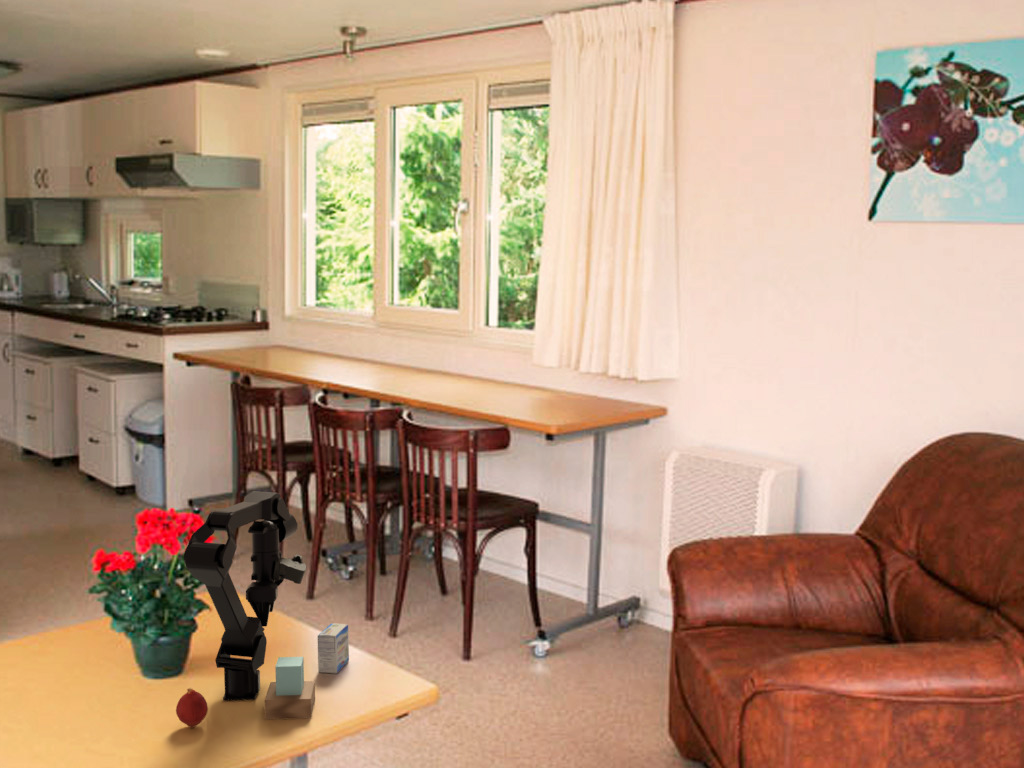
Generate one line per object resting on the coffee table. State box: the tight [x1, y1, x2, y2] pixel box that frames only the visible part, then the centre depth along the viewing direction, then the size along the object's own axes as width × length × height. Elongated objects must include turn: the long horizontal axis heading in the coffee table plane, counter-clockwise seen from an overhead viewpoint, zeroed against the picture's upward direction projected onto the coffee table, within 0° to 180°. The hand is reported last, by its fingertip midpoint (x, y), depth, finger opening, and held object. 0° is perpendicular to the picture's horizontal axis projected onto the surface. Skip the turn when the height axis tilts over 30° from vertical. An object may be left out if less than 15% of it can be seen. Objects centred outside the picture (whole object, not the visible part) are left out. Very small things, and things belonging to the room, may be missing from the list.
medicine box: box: [317, 623, 350, 675], centre depth 247 cm, size 8×4×9 cm, turn 168°
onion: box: [175, 687, 209, 728], centre depth 217 cm, size 6×6×8 cm
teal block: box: [274, 656, 305, 696], centre depth 225 cm, size 5×5×6 cm
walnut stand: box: [264, 680, 316, 720], centre depth 225 cm, size 9×9×4 cm
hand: (267, 618), depth 243 cm, fingers open, 9 cm apart
